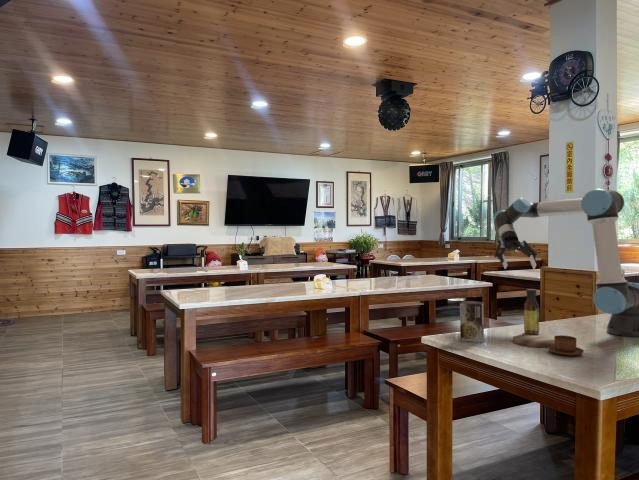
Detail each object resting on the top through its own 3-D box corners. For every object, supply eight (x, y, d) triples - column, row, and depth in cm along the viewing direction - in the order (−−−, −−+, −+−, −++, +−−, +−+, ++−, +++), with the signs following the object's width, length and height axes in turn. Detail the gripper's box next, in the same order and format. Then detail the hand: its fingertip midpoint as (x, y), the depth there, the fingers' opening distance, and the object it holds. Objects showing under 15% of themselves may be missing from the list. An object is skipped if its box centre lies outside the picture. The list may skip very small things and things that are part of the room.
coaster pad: (561, 342, 192) (561, 339, 192) (546, 349, 181) (546, 345, 181) (522, 336, 204) (522, 333, 204) (506, 342, 192) (506, 339, 192)
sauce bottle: (540, 335, 207) (541, 290, 206) (525, 334, 208) (525, 290, 208) (537, 332, 213) (537, 288, 213) (522, 331, 214) (522, 288, 214)
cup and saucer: (582, 359, 167) (582, 342, 167) (545, 355, 173) (545, 338, 173) (584, 352, 177) (584, 336, 177) (549, 348, 184) (549, 332, 184)
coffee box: (484, 339, 198) (484, 301, 198) (482, 343, 192) (482, 303, 192) (461, 338, 202) (461, 300, 201) (459, 341, 196) (459, 302, 196)
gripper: (530, 240, 239) (544, 272, 225) (481, 240, 240) (492, 272, 225) (535, 230, 234) (549, 261, 219) (485, 229, 234) (496, 261, 219)
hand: (520, 267), depth 222 cm, fingers open, 13 cm apart
